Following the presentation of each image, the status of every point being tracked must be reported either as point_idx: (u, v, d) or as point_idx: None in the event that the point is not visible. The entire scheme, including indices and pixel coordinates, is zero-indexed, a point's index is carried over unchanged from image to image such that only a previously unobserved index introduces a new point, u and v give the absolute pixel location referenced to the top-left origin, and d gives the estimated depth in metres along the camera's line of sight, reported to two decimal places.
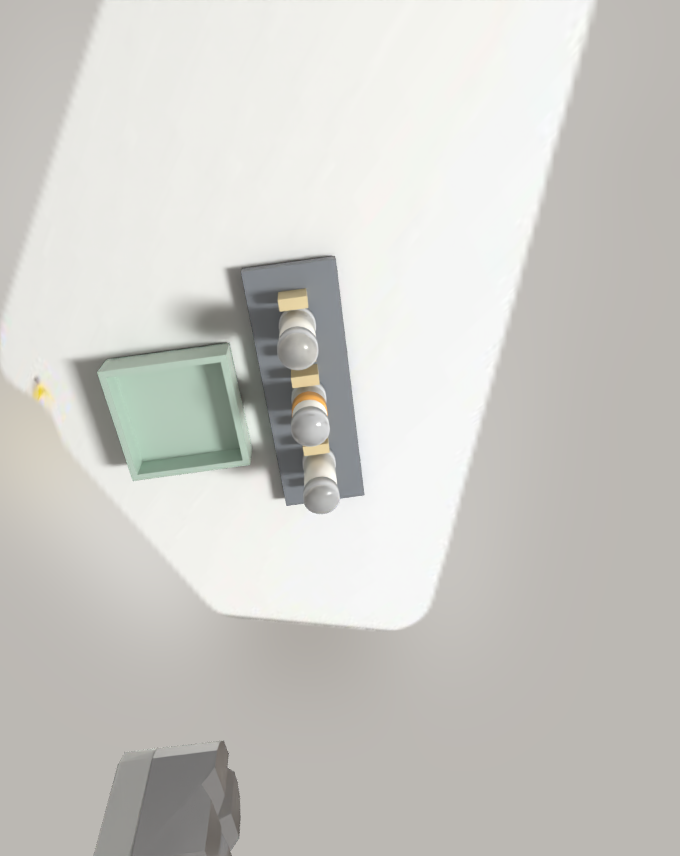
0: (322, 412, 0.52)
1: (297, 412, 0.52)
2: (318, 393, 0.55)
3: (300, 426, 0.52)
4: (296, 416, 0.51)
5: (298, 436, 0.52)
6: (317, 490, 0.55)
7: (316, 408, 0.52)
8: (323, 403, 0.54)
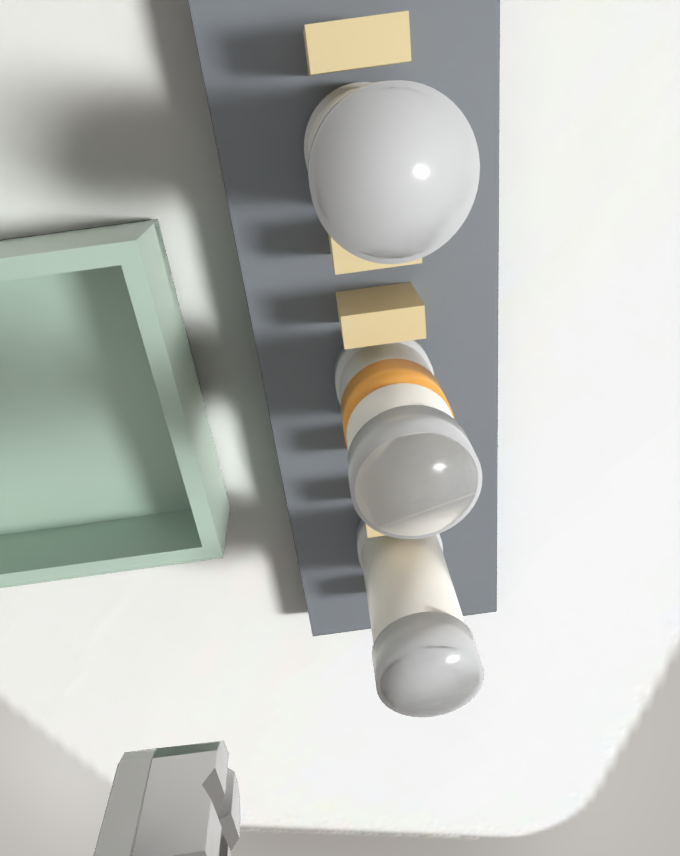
0: (457, 426, 0.15)
1: (371, 426, 0.15)
2: (421, 365, 0.18)
3: (384, 476, 0.15)
4: (370, 441, 0.15)
5: (374, 508, 0.15)
6: (420, 660, 0.18)
7: (435, 412, 0.15)
8: (443, 395, 0.17)
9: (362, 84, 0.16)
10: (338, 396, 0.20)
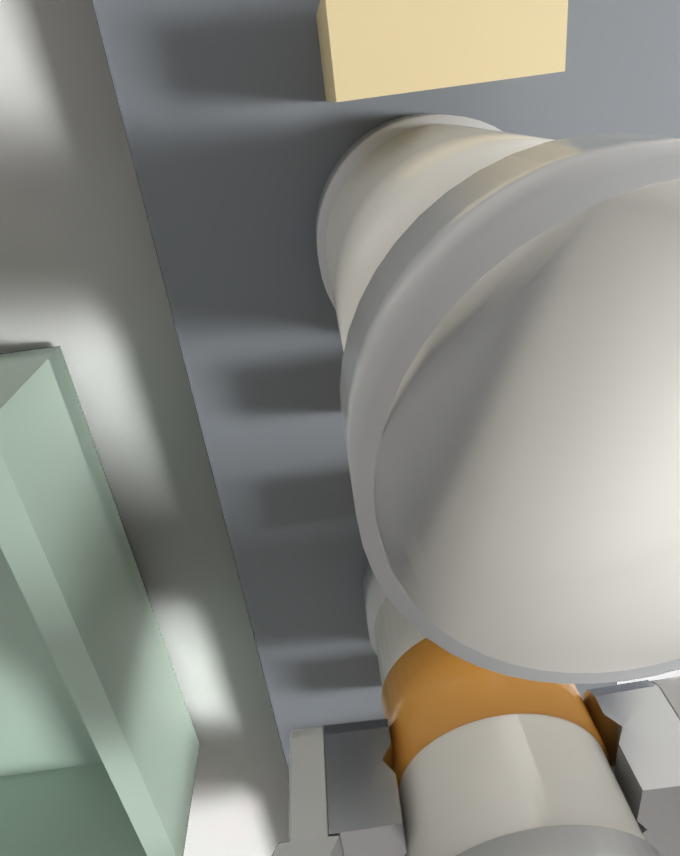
0: None
1: None
2: None
3: None
4: None
5: None
6: None
7: (612, 846, 0.07)
8: (586, 714, 0.09)
9: (439, 120, 0.08)
10: (372, 641, 0.12)
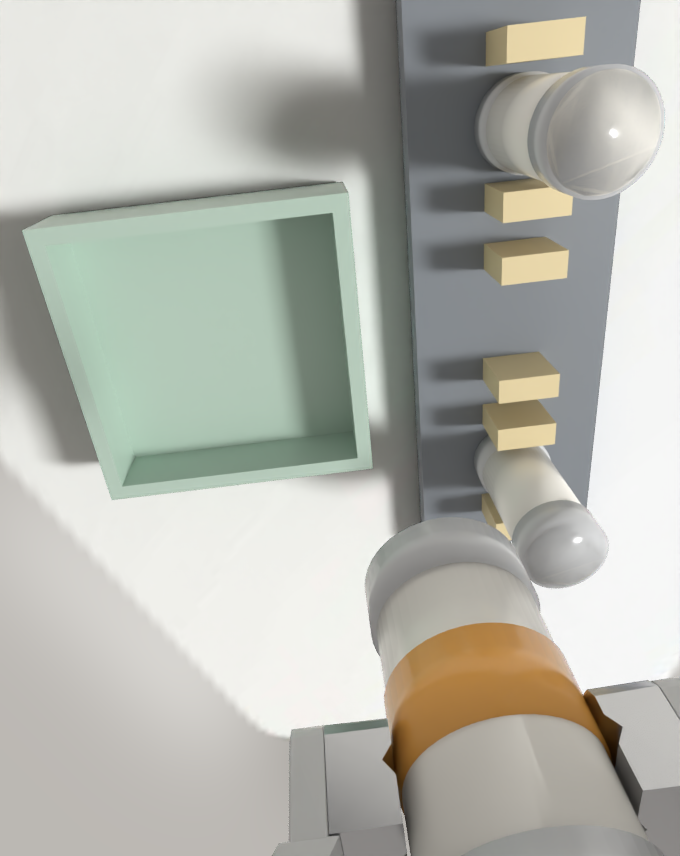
0: None
1: None
2: (533, 627, 0.10)
3: None
4: None
5: None
6: (560, 534, 0.22)
7: (616, 846, 0.07)
8: (589, 715, 0.09)
9: (534, 73, 0.21)
10: (375, 642, 0.12)
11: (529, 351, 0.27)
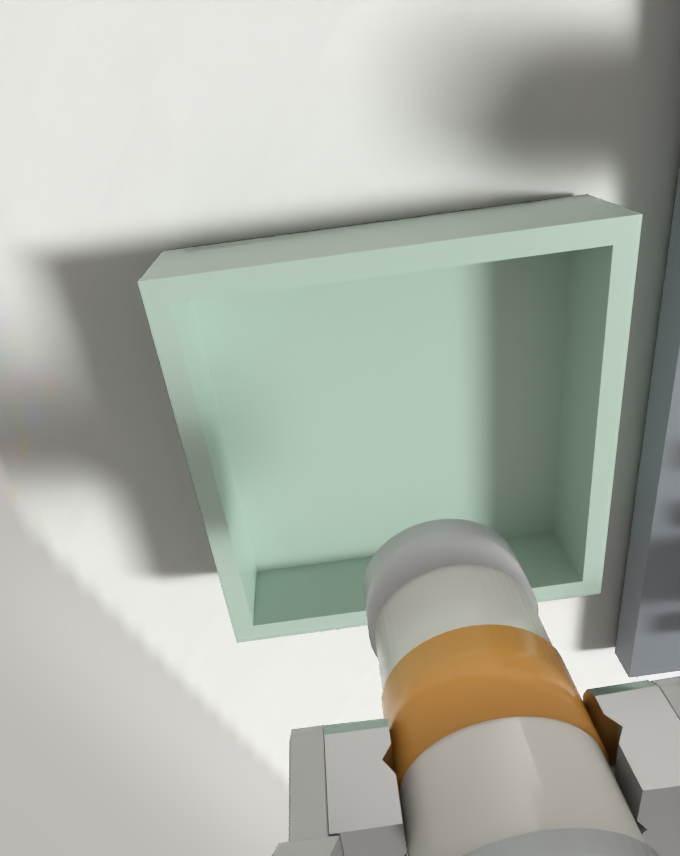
0: None
1: None
2: (531, 628, 0.10)
3: None
4: None
5: None
6: None
7: (613, 849, 0.07)
8: (587, 717, 0.09)
9: None
10: (373, 643, 0.12)
11: None
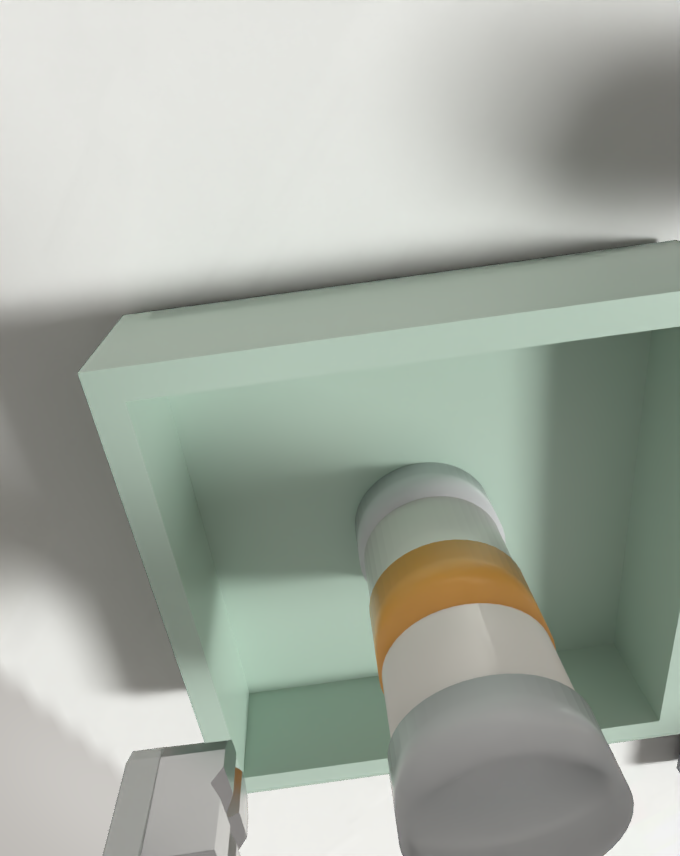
0: (585, 716, 0.09)
1: (435, 717, 0.09)
2: (495, 545, 0.12)
3: (460, 818, 0.08)
4: (436, 760, 0.08)
5: None
6: None
7: (546, 689, 0.09)
8: (537, 610, 0.11)
9: None
10: (363, 569, 0.14)
11: None
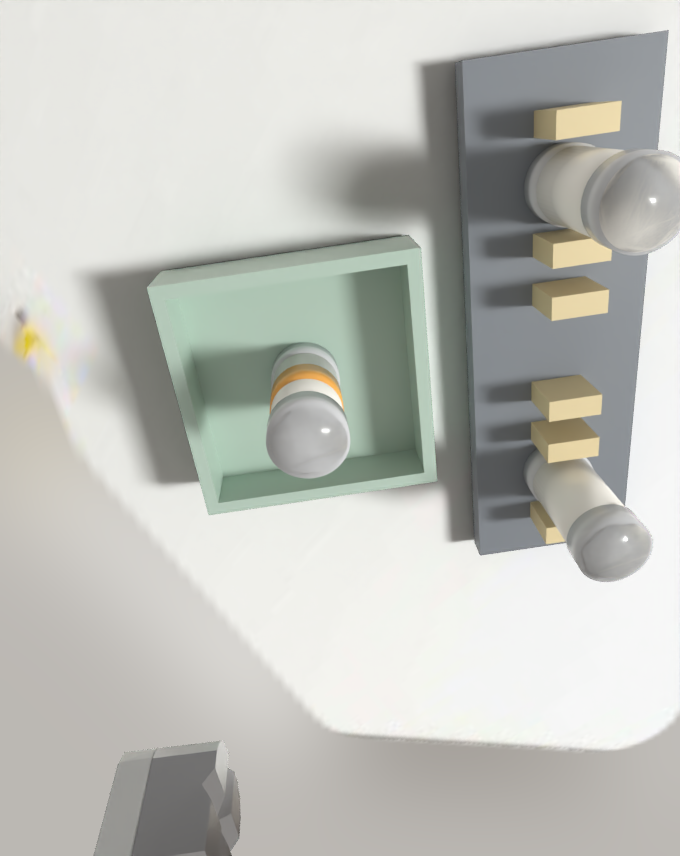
0: (334, 404, 0.24)
1: (279, 404, 0.24)
2: (324, 368, 0.27)
3: (286, 435, 0.23)
4: (277, 413, 0.23)
5: (282, 457, 0.24)
6: (611, 534, 0.26)
7: (321, 395, 0.24)
8: (335, 387, 0.26)
9: (577, 144, 0.24)
10: None
11: (572, 374, 0.30)
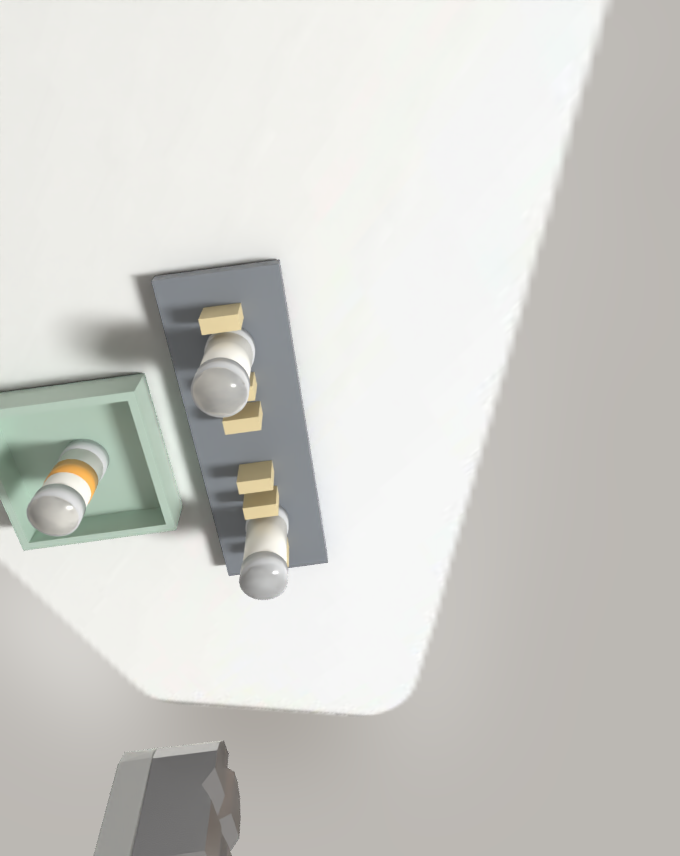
0: (70, 492, 0.39)
1: (37, 492, 0.39)
2: (84, 461, 0.42)
3: (39, 512, 0.39)
4: (32, 498, 0.38)
5: (38, 524, 0.39)
6: (257, 571, 0.41)
7: (63, 486, 0.39)
8: (85, 476, 0.41)
9: None
10: None
11: (266, 460, 0.45)
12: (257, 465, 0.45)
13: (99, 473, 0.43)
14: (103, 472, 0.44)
